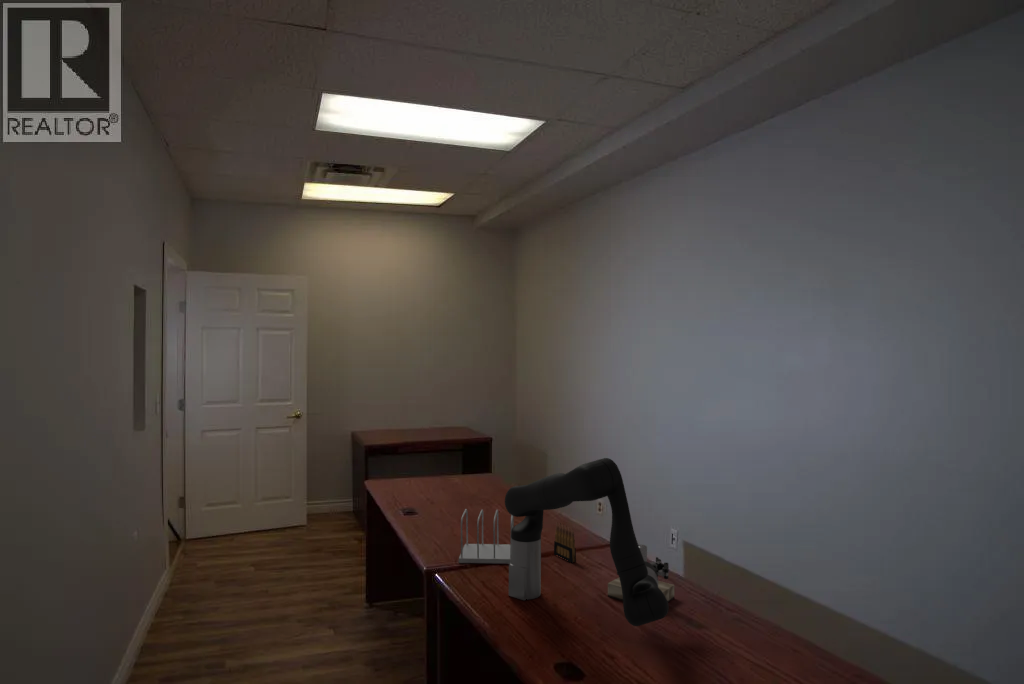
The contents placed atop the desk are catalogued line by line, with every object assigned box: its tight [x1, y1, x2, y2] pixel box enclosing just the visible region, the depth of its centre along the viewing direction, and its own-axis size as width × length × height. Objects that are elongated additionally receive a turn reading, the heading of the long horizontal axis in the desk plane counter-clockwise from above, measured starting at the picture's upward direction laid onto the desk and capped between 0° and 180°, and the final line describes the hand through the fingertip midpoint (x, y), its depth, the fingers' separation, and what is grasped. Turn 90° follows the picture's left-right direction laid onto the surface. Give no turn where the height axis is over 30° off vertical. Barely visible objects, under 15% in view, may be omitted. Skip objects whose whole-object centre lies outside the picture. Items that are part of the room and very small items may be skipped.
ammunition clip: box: [553, 521, 577, 564], centre depth 232 cm, size 11×2×12 cm, turn 33°
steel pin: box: [638, 544, 648, 562], centre depth 197 cm, size 3×3×15 cm
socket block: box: [607, 577, 675, 603], centre depth 197 cm, size 12×16×4 cm
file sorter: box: [458, 508, 515, 565], centre depth 235 cm, size 25×17×16 cm
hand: (641, 559), depth 187 cm, fingers open, 8 cm apart
